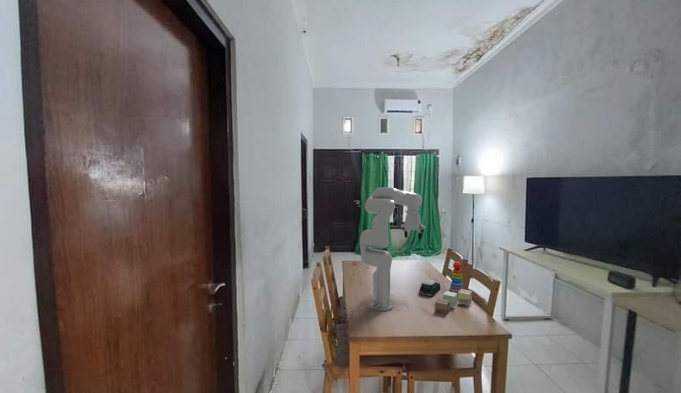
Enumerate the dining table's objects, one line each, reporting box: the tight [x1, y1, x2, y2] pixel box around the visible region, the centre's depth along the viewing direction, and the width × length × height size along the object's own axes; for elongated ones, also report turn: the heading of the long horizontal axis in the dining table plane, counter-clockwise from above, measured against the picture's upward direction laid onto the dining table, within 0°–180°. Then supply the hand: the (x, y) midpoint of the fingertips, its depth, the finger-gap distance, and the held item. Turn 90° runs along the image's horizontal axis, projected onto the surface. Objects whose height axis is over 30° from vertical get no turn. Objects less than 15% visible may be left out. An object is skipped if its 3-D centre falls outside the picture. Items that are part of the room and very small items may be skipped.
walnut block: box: [434, 297, 451, 315], centre depth 162 cm, size 6×6×6 cm
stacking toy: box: [449, 261, 464, 293], centre depth 192 cm, size 8×8×19 cm
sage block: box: [442, 290, 458, 308], centre depth 171 cm, size 6×6×6 cm
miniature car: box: [418, 278, 441, 297], centre depth 190 cm, size 9×18×8 cm, turn 146°
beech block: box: [457, 289, 473, 306], centre depth 174 cm, size 6×6×6 cm
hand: (412, 238), depth 205 cm, fingers open, 9 cm apart
